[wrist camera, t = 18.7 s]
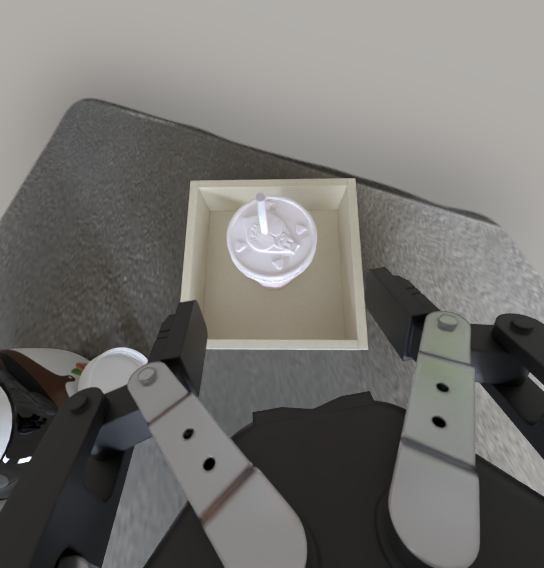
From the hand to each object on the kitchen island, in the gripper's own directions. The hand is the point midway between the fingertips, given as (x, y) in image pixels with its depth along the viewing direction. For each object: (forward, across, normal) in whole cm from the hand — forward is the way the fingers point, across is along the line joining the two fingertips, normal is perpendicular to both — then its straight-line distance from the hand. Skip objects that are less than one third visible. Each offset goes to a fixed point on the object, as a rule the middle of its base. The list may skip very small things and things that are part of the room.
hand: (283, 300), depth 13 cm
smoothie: (+14, 0, +6) cm, 15 cm away
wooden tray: (+15, 0, +7) cm, 16 cm away
